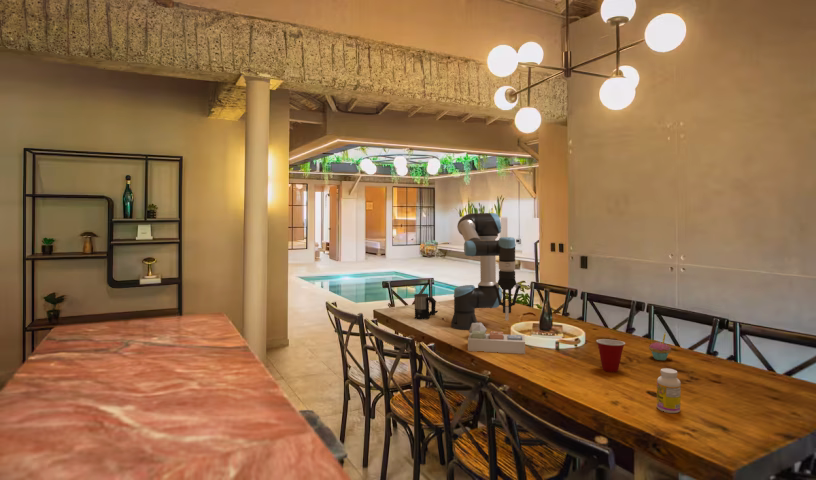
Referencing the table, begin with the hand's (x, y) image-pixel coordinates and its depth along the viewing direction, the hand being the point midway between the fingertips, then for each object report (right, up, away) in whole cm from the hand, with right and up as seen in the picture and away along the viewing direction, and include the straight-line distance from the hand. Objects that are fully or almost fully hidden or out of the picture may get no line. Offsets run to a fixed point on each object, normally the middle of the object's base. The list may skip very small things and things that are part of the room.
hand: (506, 319), depth 216 cm
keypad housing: (-5, -14, +1) cm, 15 cm away
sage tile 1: (-13, -10, +3) cm, 17 cm away
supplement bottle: (+37, -17, -68) cm, 80 cm away
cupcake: (+63, -14, -17) cm, 67 cm away
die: (-11, -13, +21) cm, 27 cm away
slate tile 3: (+4, -11, -1) cm, 12 cm away
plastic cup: (+36, -15, -30) cm, 49 cm away
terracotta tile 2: (-5, -10, +1) cm, 11 cm away
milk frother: (-35, -11, +72) cm, 81 cm away
